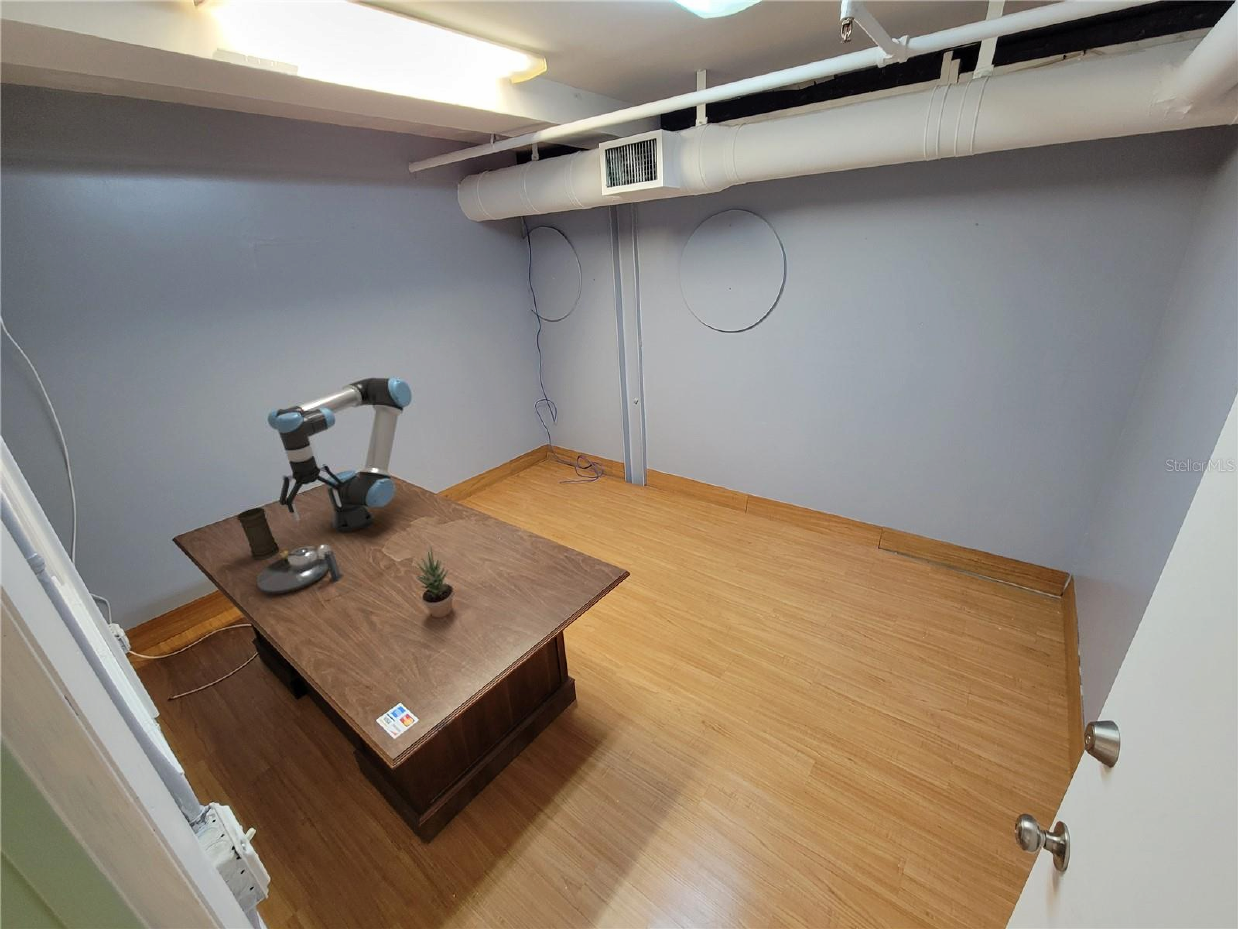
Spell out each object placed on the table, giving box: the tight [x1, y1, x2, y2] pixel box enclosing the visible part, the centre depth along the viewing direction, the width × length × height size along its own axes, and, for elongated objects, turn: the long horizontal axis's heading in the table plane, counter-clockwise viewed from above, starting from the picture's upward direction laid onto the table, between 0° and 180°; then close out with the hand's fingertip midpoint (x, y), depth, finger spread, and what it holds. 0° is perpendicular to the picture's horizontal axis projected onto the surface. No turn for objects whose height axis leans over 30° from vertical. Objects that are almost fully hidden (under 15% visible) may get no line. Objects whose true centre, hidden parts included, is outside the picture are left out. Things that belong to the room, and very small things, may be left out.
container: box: [237, 507, 280, 560], centre depth 190 cm, size 9×9×18 cm
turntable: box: [256, 549, 329, 595], centre depth 176 cm, size 22×22×5 cm
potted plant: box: [415, 544, 455, 618], centre depth 153 cm, size 10×10×25 cm
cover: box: [287, 545, 320, 572], centre depth 178 cm, size 9×9×6 cm
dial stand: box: [316, 544, 344, 582], centre depth 174 cm, size 4×5×14 cm
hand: (319, 512), depth 178 cm, fingers open, 13 cm apart
